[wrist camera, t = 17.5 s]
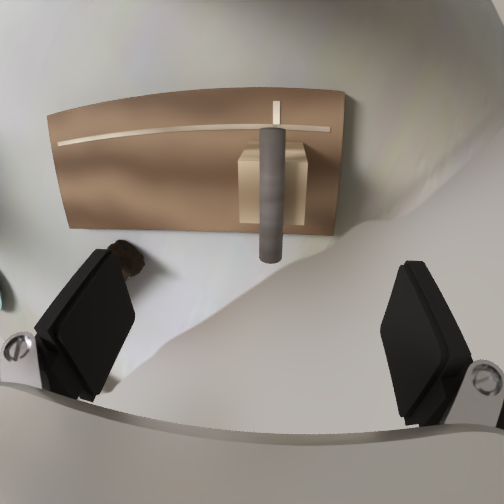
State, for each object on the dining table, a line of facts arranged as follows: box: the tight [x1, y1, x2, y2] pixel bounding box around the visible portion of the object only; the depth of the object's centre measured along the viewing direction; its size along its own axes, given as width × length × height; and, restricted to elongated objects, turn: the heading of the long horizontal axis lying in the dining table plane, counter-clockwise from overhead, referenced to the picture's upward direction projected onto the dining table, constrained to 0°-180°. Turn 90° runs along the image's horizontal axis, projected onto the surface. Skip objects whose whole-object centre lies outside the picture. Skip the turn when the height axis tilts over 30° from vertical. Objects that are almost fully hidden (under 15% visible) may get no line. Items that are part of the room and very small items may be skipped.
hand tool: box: [108, 240, 145, 281], centre depth 33 cm, size 19×4×5 cm, turn 132°
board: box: [47, 87, 345, 236], centre depth 25 cm, size 12×26×2 cm, turn 91°
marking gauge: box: [238, 127, 308, 264], centre depth 20 cm, size 8×4×7 cm, turn 1°
